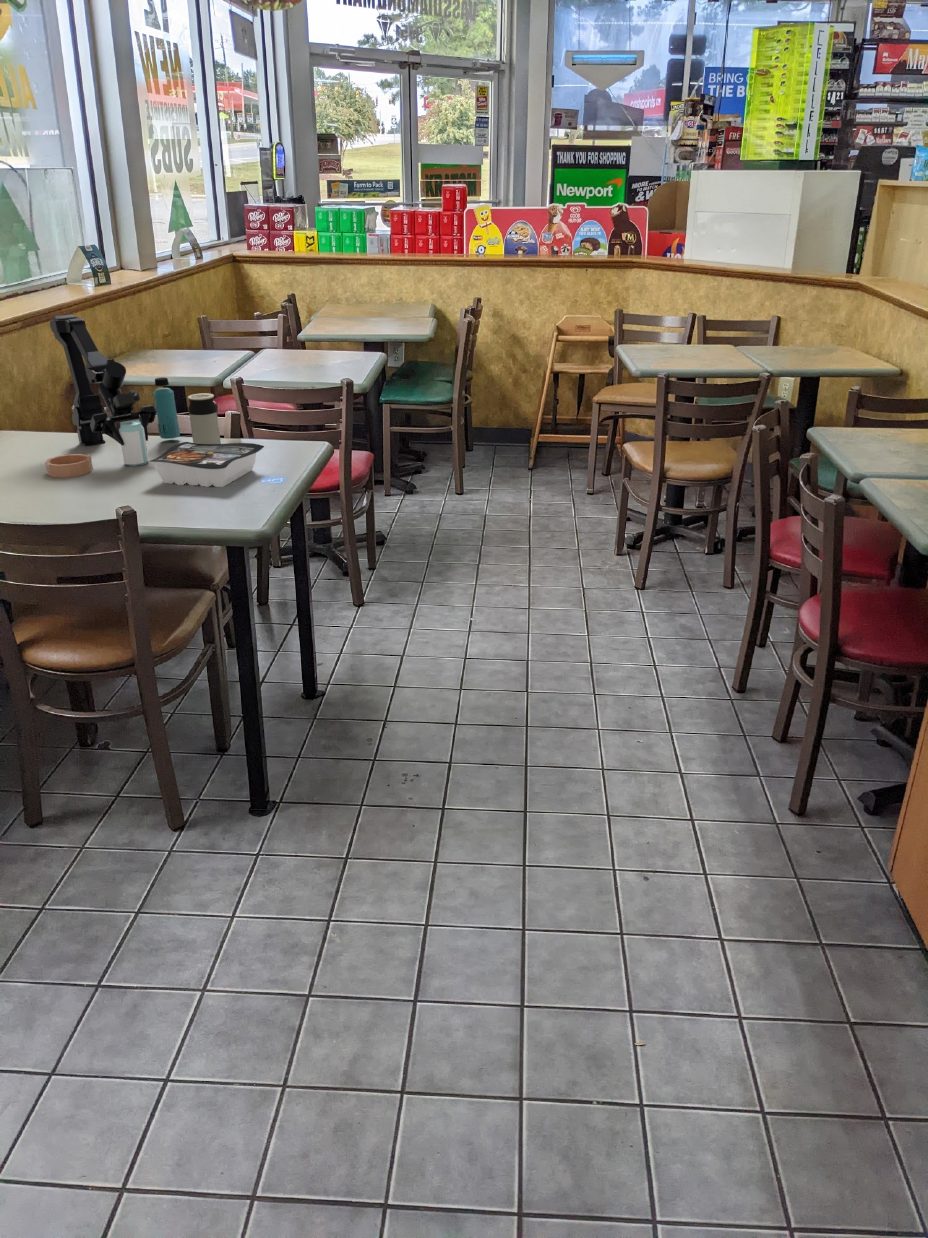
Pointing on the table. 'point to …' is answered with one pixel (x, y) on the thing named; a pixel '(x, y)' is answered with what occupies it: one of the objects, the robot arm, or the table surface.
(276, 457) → the table surface
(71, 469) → the bowl
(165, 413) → the beverage bottle
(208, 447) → the food packaging
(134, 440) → the can
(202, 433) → the travel mug
